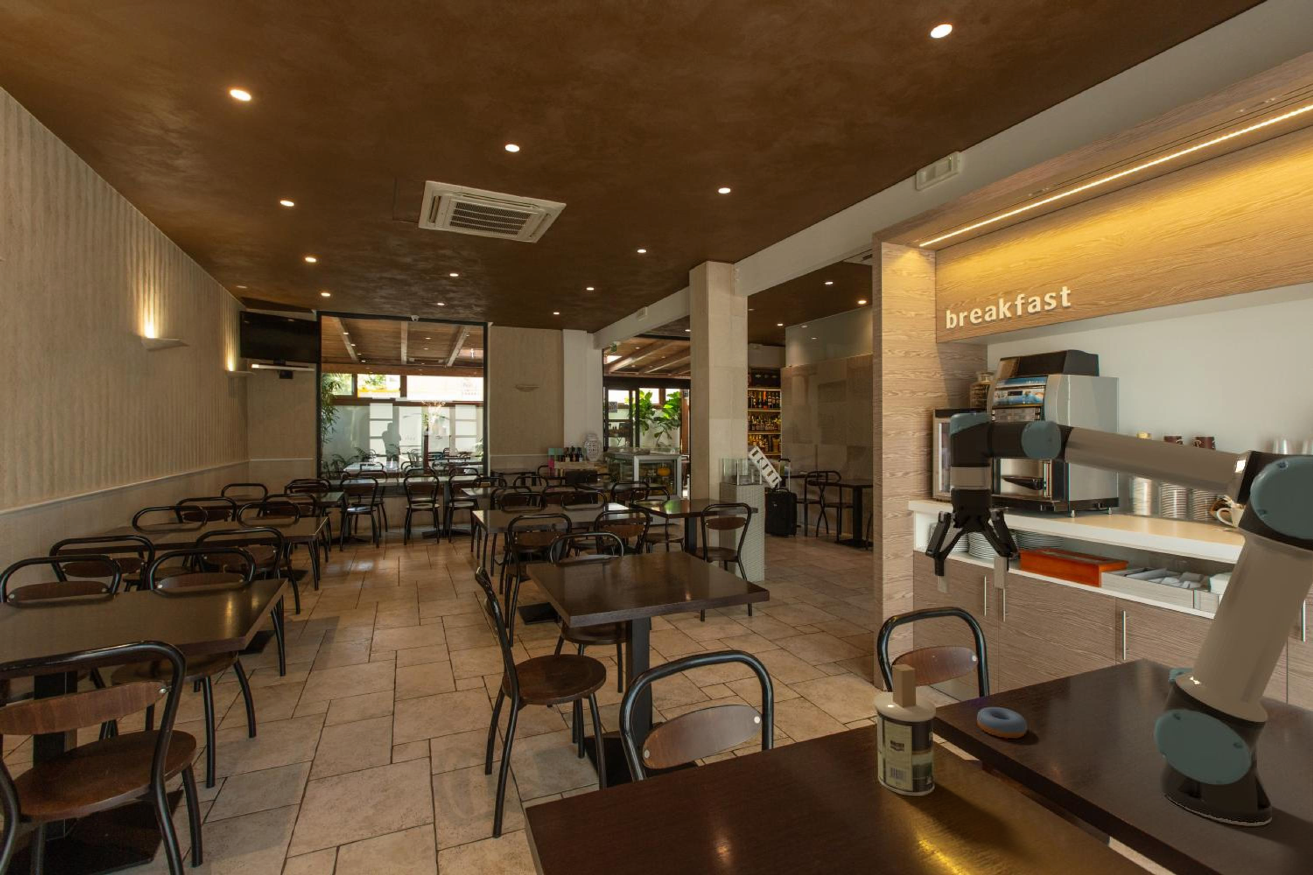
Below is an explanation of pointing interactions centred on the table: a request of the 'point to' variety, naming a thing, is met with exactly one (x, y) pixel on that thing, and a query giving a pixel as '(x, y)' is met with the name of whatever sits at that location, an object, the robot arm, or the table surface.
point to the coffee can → (905, 755)
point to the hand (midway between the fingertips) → (972, 589)
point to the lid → (904, 698)
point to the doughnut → (1001, 722)
